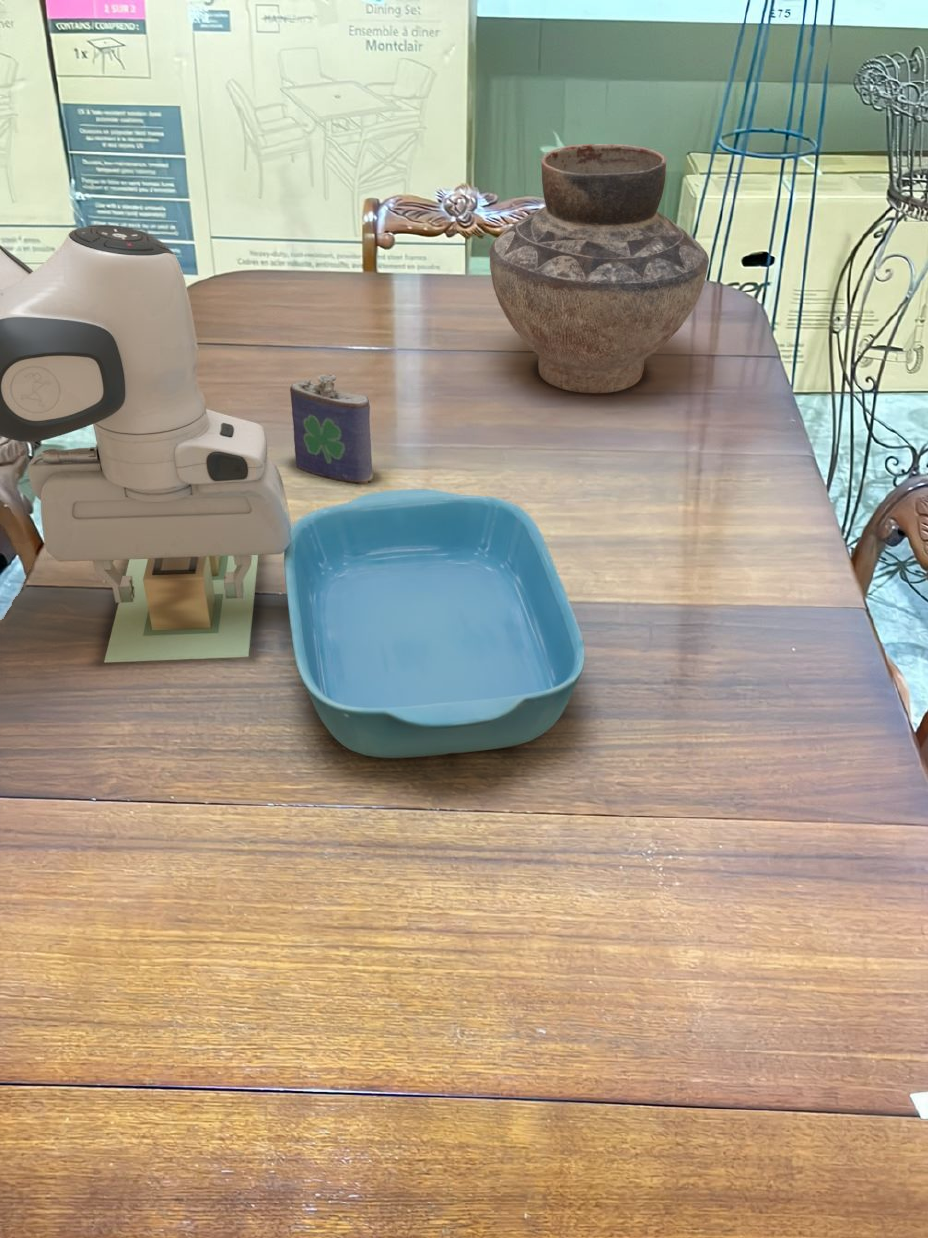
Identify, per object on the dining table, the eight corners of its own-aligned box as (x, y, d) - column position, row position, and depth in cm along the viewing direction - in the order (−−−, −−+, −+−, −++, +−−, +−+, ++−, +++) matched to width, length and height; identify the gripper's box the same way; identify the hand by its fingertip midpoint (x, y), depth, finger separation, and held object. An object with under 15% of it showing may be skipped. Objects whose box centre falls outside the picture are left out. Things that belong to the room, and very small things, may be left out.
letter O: (152, 630, 108) (142, 578, 105) (158, 600, 112) (149, 549, 108) (210, 628, 108) (202, 576, 105) (215, 598, 112) (207, 547, 109)
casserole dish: (283, 560, 118) (276, 490, 113) (516, 543, 121) (519, 473, 116) (308, 813, 91) (300, 735, 86) (608, 783, 93) (616, 706, 89)
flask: (378, 480, 130) (372, 378, 123) (362, 491, 129) (356, 389, 121) (304, 460, 134) (295, 361, 127) (288, 471, 132) (278, 370, 125)
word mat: (104, 666, 105) (103, 661, 104) (136, 537, 121) (135, 533, 121) (249, 660, 105) (248, 655, 105) (261, 533, 122) (260, 529, 122)
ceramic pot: (445, 377, 151) (443, 159, 135) (570, 321, 165) (582, 118, 149) (613, 436, 139) (633, 204, 123) (733, 371, 153) (765, 155, 137)
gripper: (14, 467, 97) (53, 621, 106) (280, 459, 98) (295, 612, 107) (29, 433, 101) (65, 582, 111) (283, 425, 103) (297, 574, 112)
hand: (180, 597), depth 109 cm, fingers open, 8 cm apart
